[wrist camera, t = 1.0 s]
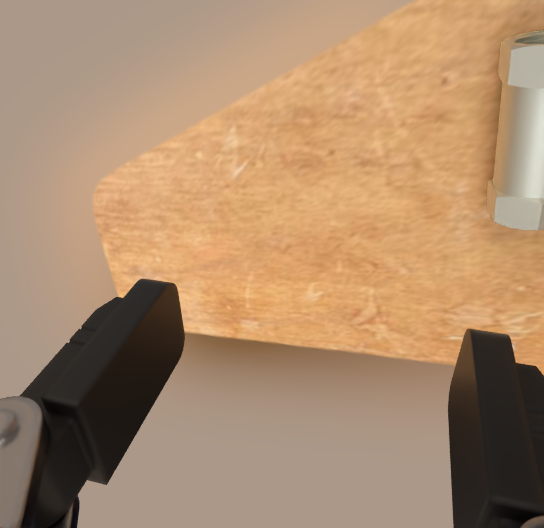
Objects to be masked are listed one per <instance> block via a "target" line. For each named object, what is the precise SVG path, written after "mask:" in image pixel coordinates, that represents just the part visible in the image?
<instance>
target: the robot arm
mask: <svg viewBox="0 0 544 528" xmlns="http://www.w3.org/2000/svg"><path fill="white" fill-rule="evenodd" d="M184 340H185V334H184V327H183V321H182V314H181V308H180V302H179V295H178V290H177V287H176V285H175V284H174V283H169V282H162V281H156V280H149V279H140V280H139V281H137V283H136V284H135V285H134V286H133V287H132V288H131V290H130V291H129V292H128V293H127V294H126V296H125V297H124V298H120V297H116V298H114V299H113V300H111V301H109V302H108V303H106V304H104V305H103V306H101V307H100V308H98V309H97V310H95V312H94V313H93V314H92V315H91V316H90V317H89V318H88V319H87V321H86V322H85V323H84V324H83V325H82V328H81V329H79V330H78V331H77V332H76V333H75V334H74V335H73V336H72V337H71V339H70V342H69V343H66V344H65V345H64V347H63V348H62V349H61V350H60V351H59V352H58V353H57V354H56V356H55V357H54V358H53V359H52V360H51V361H50V362H49V364H48V365H47V366H46V367H45V368H44V369H43V370H42V372H41V373H40V374H39V375H38V376H37V377H36V378H35V379H34V381H33V382H32V383H31V384H30V385H29V386H28V387H27V388H26V390H25V391H24V392H23V393H22V394H21V395H20V396H17V397H16V396H13V397H6V398H2V399H0V528H77V523H78V514H79V497H78V493H79V492H80V490H81V488H82V487H83V485H84V484H85V482H86V480H89V481H93V482H98V483H101V484H106V485H107V483H108V482H109V480H110V478H111V477H112V475H113V473H114V471H115V470H116V468H117V466H118V464H119V463H120V461H121V459H122V458H123V456H124V454H125V452H126V451H127V449H128V447H129V446H130V444H131V442H132V440H133V439H134V437H135V435H136V434H137V432H138V430H139V428H140V427H141V425H142V423H143V421H144V420H145V418H146V416H147V415H148V413H149V411H150V409H151V408H152V406H153V404H154V403H155V401H156V399H157V397H158V396H159V394H160V392H161V391H162V389H163V387H164V385H165V383H166V382H167V380H168V378H169V377H170V375H171V373H172V372H173V370H174V368H175V366H176V365H177V363H178V361H179V359H180V357H181V354H182V351H183V347H184ZM448 419H449V439H450V459H451V460H450V461H451V480H452V501H453V523H454V528H544V376H543V375H542V373H541V372H540V371H539V369H538V368H537V367H536V366H531V365H525V364H519V363H516V362H515V357H514V353H513V348H512V343H511V339H510V337H509V335H507V334H500V333H494V332H487V331H480V330H474V329H467V330H466V332H465V335H464V338H463V342H462V345H461V349H460V352H459V356H458V360H457V363H456V367H455V370H454V374H453V377H452V381H451V386H450V392H449V402H448Z"/></svg>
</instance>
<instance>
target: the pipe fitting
mask: <svg viewBox="0 0 544 528" xmlns="http://www.w3.org/2000/svg"><path fill="white" fill-rule="evenodd" d="M498 75H499V77H500V80H501V81H502V93H501V103H500V114H499V124H498V134H497V145H496V155H495V166H494V176H493V178H492V179H490V180H488V190H487V201H486V205H487V209H488V212H489V215H490V217H491V219H492V220H493V222H495V223H498V224H500V225H503V226H506V227H509V228H514V229H519V230H544V30H539V31H532V32H526V33H522V34H518V35H514V36H511V37H509V38H507V39H505V40H504V41H502V42H501V46H500V57H499V68H498Z"/></svg>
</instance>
